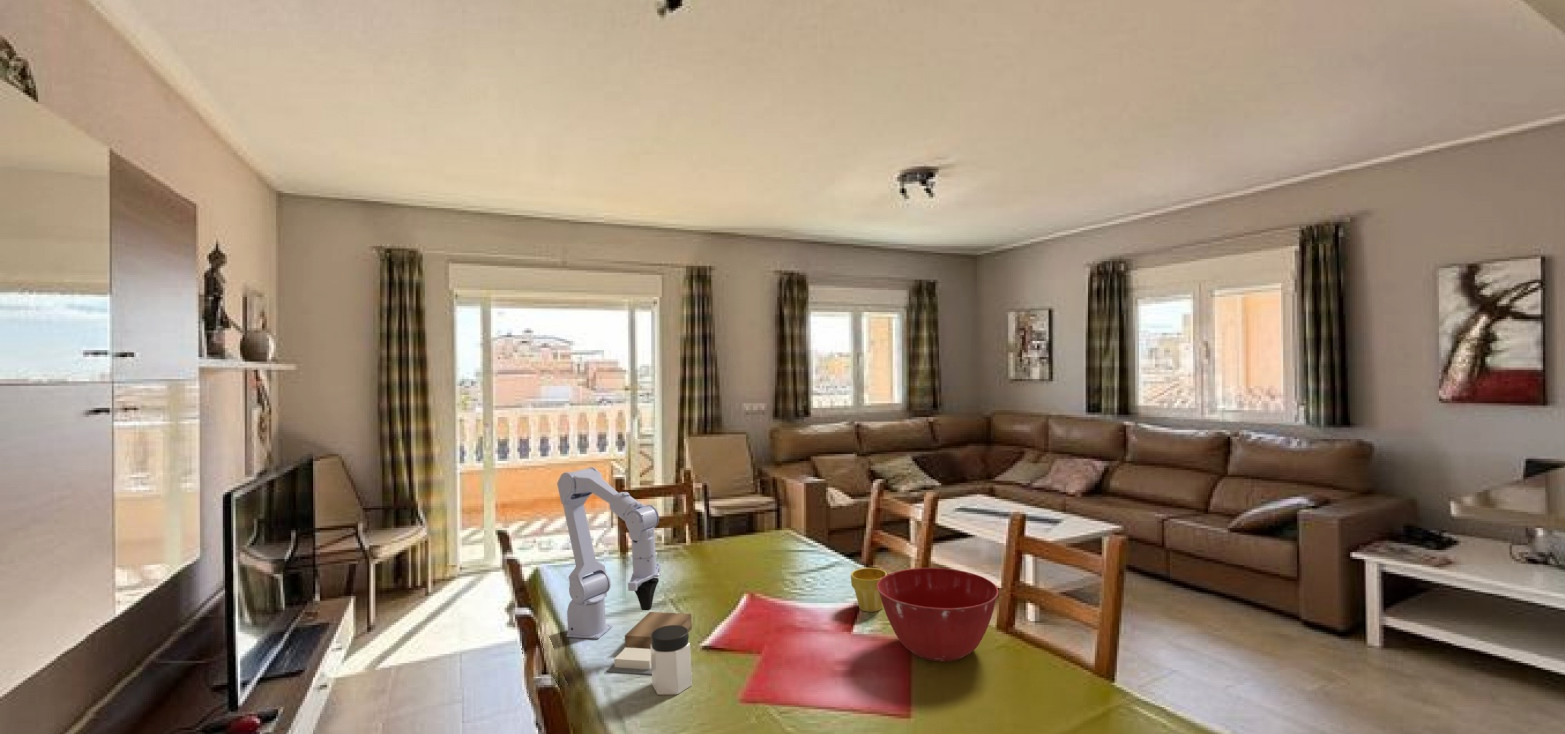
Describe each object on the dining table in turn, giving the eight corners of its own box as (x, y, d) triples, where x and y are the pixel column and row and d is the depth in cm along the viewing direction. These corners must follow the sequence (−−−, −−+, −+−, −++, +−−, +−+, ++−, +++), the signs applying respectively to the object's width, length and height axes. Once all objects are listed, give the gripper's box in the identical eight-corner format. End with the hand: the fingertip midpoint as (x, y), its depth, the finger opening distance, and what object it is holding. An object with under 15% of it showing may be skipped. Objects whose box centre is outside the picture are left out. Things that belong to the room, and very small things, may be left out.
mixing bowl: (921, 615, 174) (918, 559, 174) (1022, 645, 154) (1019, 581, 153) (856, 651, 154) (853, 588, 154) (962, 691, 134) (959, 619, 134)
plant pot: (847, 612, 178) (846, 577, 178) (857, 599, 188) (856, 566, 187) (884, 616, 174) (882, 581, 174) (892, 602, 184) (890, 569, 184)
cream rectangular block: (625, 647, 157) (626, 655, 157) (614, 658, 151) (614, 667, 151) (659, 649, 155) (660, 657, 155) (649, 660, 149) (649, 669, 149)
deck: (625, 651, 160) (624, 635, 160) (650, 626, 174) (649, 611, 174) (670, 654, 157) (669, 637, 157) (691, 628, 172) (691, 613, 172)
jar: (696, 689, 139) (693, 635, 139) (659, 699, 136) (657, 644, 136) (684, 672, 147) (681, 621, 147) (649, 681, 144) (646, 629, 144)
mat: (607, 671, 149) (606, 670, 149) (626, 652, 159) (626, 651, 159) (654, 675, 147) (654, 673, 147) (671, 655, 157) (671, 653, 157)
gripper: (646, 565, 152) (648, 621, 152) (670, 547, 166) (672, 599, 166) (619, 564, 153) (621, 620, 153) (645, 546, 167) (647, 597, 168)
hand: (646, 609), depth 160 cm, fingers closed
